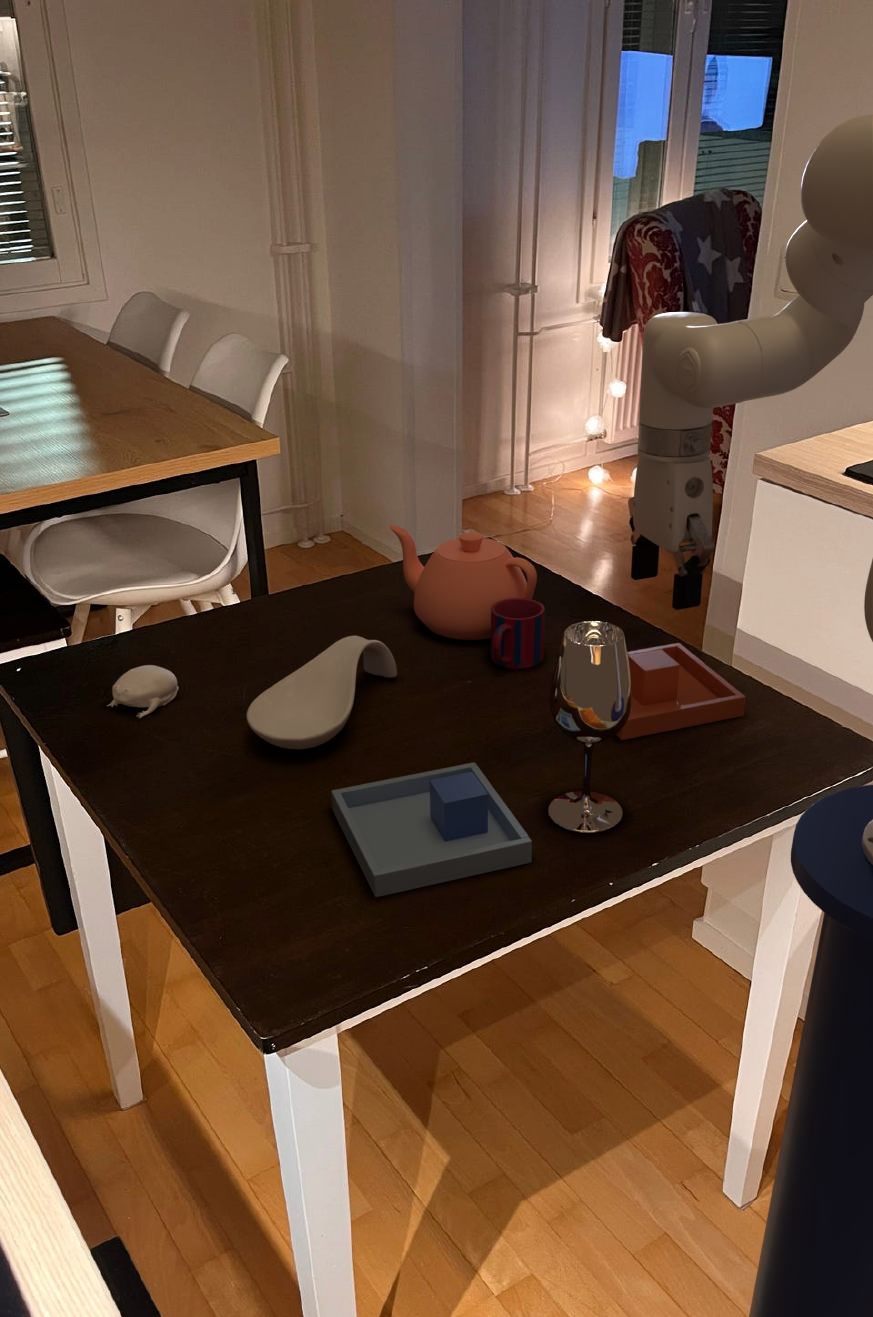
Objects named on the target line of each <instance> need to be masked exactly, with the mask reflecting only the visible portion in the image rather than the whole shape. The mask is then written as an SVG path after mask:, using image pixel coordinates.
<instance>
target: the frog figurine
mask: <svg viewBox="0 0 873 1317" xmlns="http://www.w3.org/2000/svg"><path fill="white" fill-rule="evenodd" d="M178 691H179V685H178V679H177V677H176V676H175V674H174V673H173V672H172V671H170V670H169V669H167V668H164V667H161V666H158V665H153V664H147V665H145V664H144V665H139V666H137V667H134V668H130V669H129V670H128V671H126V672H125V673H123V674H122V675H121V676H120V677H119V678H118V679H117V680H116V681H115V683H114V684H113V685H112V688H111V693H112V697H113V700H112V701H111V702H110V703H109V704H108V705H106V707H110V706H111V708H113V707H114V706H116V707H118V705H124V706H127V707H133V708H147V710H142V711H141V712H137V715H136V717H138V719H141V718H143V717H145V716H147V715H150V714H151V713H152V712H154V711H155V710H156V709H157V708H159V707H161V706H163V707H164V706H166V705H167V704H168V703H170V702H171V701H173V700H174V699H175V698H176V697H177V694H178Z"/></svg>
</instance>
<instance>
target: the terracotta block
mask: <svg viewBox="0 0 873 1317" xmlns="http://www.w3.org/2000/svg"><path fill="white" fill-rule="evenodd" d="M628 659H629V666H630V673H631V682H632V696H633V697H634V698H635V699H636V700H637V701H638V702H639V703H641V704H642V705H648V704H653V703H658V702H663V701H669V700H674V699H677V690H678V679H679V668H680V665H679V664H678V663H677V662H676V661H675V660H673V659H672V658H671V657H670V656H669V655H667V654H666V653H665V652H664V651H663V650H656V651H650V652H645V653H639V654H633V655H628Z"/></svg>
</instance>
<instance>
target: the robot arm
mask: <svg viewBox="0 0 873 1317" xmlns="http://www.w3.org/2000/svg"><path fill="white" fill-rule="evenodd" d="M801 178H802V179H801V185H800V203H801V209H802V213H803V215H804V218H805V219H806V220H805V221H804V222H802V223H801V225H800V226H798V227H797V229H796V230H795V231H793V234H792V235H791V236H790V238H789V240H788V243H787V245H786V248H785V254H784V255H785V256H784V257H785V258H784V260H785V261H784V263H785V268H786V273H787V276H788V278H789V280H790V282H791V285H792V286H793V288H794V289H795V291H796V293H797V295H796V296H795V297H794V298H793V299H792V300H791V301H790V302H789V303H788V304H787V305H786V306H784V308H782V309H781V310H779V311H778V312H777V313H776V314H773V315H766V316H759V317H751V318H746V319H739V320H733V321H730V322H723V323H718V322H717V321H716V319H715V318H714V317H713V316H711V315H708V314H706V313H701V312H692V311H676V312H665V313H660V314H657V315H654V316H652V317H651V318H650V319H649V320H648V321H647V322H646V324H645V325H644V329H643V333H642V334H643V335H642V351H641V352H642V355H641V371H640V372H641V374H640V375H641V376H640V393H639V395H640V396H639V412H638V413H639V414H638V433H637V434H638V435H637V455H638V458H637V463H636V471H635V478H634V479H635V480H634V490H633V496H632V497H630V498H628V500H627V505H628V512H629V517H630V518H629V520H628V521H629V522H628V525H629V526H630V529H631V532H632V533H631V535H630V543H631V545H632V546H631V567H630V568H631V569H630V578H631V579H632V580H633V581H639V580H645V579H652V578H656V577H657V576H658V574H659V562H660V561H659V560H660V548H661V549H662V550H664V551H666V552H668V553H670V554H672V555H673V558H674V562H675V567H676V569H677V573H674V574H673V587H672V599H671V600H672V602H671V607H672V609H673V610H676V611H679V610H685V609H690V608H691V609H692V608H697V607H700V605H701V601H702V588H703V576H704V574H705V573H706V571H707V568H708V566H709V565H710V562H711V557H712V555H713V553H714V550H715V541H714V540H713V538H712V536H713V515H714V513H713V512H714V483H713V482H714V481H713V468H712V462H711V461H712V460H711V458H710V457H709V456H710V454H711V441H712V430H713V416H714V415H713V414H714V408H720V407H721V408H722V407H726V406H730V405H731V406H732V405H736V404H741V403H744V402H747V401H752V400H758V399H762V398H763V399H764V398H769V397H775V396H780V395H783V394H787V393H789V392H791V391H794V390H796V389H798V388H800V387H801V386H803V385H804V384H806V383H808V382H809V381H810V380H812V379H813V378H814V377H815V376H816V375H818V374H819V373H820V372H821V371H822V370H823V369H824V368H826V367H827V366H828V365H829V364H830V363H831V362H832V361H834V360H835V359H836V358H837V357H838V356H839V355H841V354H842V353H843V351H845V349H846V348H847V347H848V346H849V345H850V344H851V342H852V341H853V339H854V337H855V335H856V333H857V331H858V328H859V325H860V324H861V321H862V318H863V315H864V311H865V303H866V302H867V301H868V300H869V299H870V298H872V297H873V114H867V115H859V116H856V117H853V118H849V119H848V120H846V121H844V122H842V123H840V124H838V125H837V126H836V127H834V128H832V130H830V131H829V132H828V133H827V134H826V135H825V136H824V137H823V138H822V139H821V140H820V141H819V142H818V144H817V146H816V147H815V149H814V150H813V152H812V153H811V156H810V157H809V158H808V161H807V163H806V165H805V168H804V171H803V175H802V177H801ZM684 543H690V544H684ZM680 544H683V545H680ZM685 554H691V556H690V558H688V559H687V561H686V559H685V556H684V555H685ZM863 612H864V620H865V625H866V629H867V632H868V636H869V637H870V640H871V642H872V643H873V558H872V559H871V564H870V567H869V570H868V576H867V580H866V584H865V591H864V600H863ZM862 848H863V852H864V854H865V856H866V857H867V859H868V861H869V862H870V863H871V864H872V865H873V820H872V821H870V822H869V823H868V825H867V826H866V828H865V830H864V833H863V838H862Z"/></svg>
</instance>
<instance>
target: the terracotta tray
mask: <svg viewBox="0 0 873 1317" xmlns="http://www.w3.org/2000/svg"><path fill="white" fill-rule="evenodd" d="M656 650H663V651H664V652H665V653H666V654H667V655H669V656H670V657H671V658H672V659H673V660H675V661H676V662H677V663H678V664H679V665H680V668H679V679H678V690H677V699H674V700H669V701H663V702H658V703H653V704H648V705H642V704H641V703H639V702H638V701H637V700H636V699H635V698H634V697H633V696H632V706H631V713H630V715H629V718H628V720H627V722H626V724H625V725H624V726H623V728H622V729H621V730H620V731H619V732H618V733H617V734H616V735H615V736H617V737H618V738H619V739H620V741H624V740H629V739H635V738H639V737H640V738H641V737H645V736H649V735H656V734H660V733H664V732H671V731H675V730H680V729H685V728H690V727H695V726H699V725H704V724H705V725H706V724H710V723H715V722H718V721H725V720H730V719H735V718H739V717H744V716H745V708H746V700H747V696H746V695H744V694H743V693H741V691H740V690H738V689H737V688H736V687H734V686H733V685H732V684H731V683H729V682H728V681H727V680H726V679H724V678H723V677H722V676H721V675H720V674H718V673H717V672H716V671H715V670H713V669H712V668H711V667H710V666H708V665H707V664H706V663H705V662H703V660H701V659H700V658H699V657H698V656H696V655H695V654H694V653H693V652H691V651H690V650H689V649H687V648H686V647H685V646H684V645H683V644H682V643H680V642H676V643H671V644H665V645H659V646H654V647H653V646H652V647H647V648H641V649H637V650H631V651H627V653H628V655H633V654H639V653H645V652H650V651H656Z"/></svg>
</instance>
